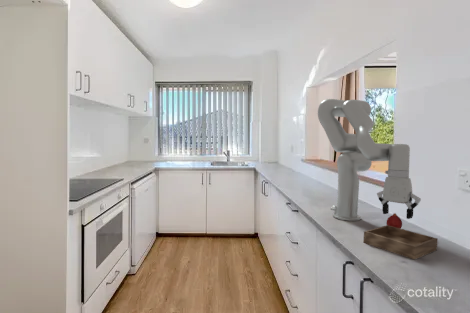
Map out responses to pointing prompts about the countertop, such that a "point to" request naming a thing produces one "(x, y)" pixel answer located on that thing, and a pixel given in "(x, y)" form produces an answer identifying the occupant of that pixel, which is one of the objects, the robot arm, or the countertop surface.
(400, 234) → the holder tray
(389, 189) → the robot arm
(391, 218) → the onion
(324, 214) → the countertop surface
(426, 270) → the countertop surface
